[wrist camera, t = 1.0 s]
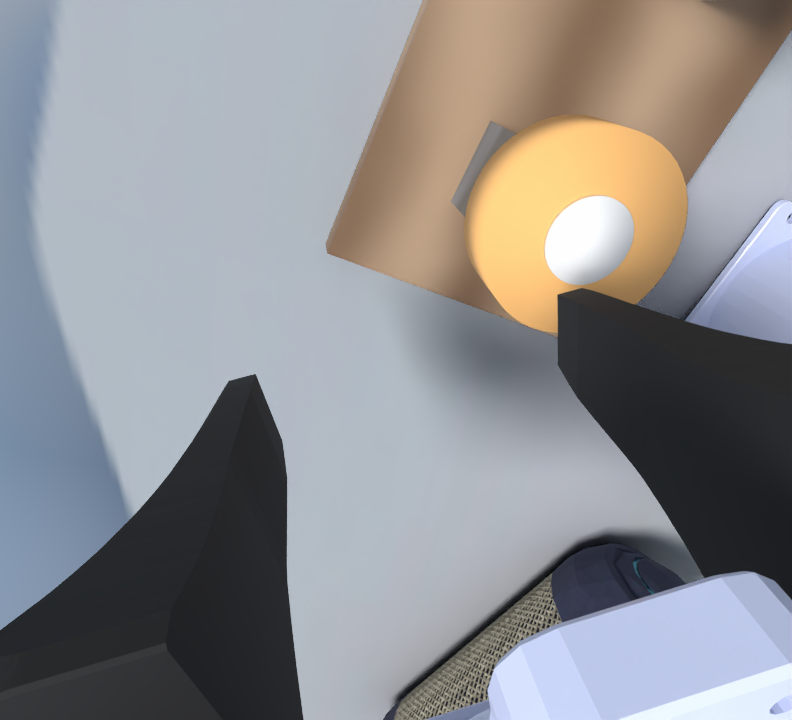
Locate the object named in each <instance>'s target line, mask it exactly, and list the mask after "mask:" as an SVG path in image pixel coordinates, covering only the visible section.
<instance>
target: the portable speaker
mask: <svg viewBox="0 0 792 720" xmlns="http://www.w3.org/2000/svg"><path fill="white" fill-rule="evenodd" d="M685 584H686V583H685V582H684V581H683V580H682V579H681V578H680V577H679V576H678V575H677V574H675V573H673V572H672V571H670V570H668V569H667V568H665V567H664V566H662V565H660V564H658V563H656V562H654V561H653V560H651V559H650V558H648V557H647V556H645V555H643V554H642V553H640V552H639V551H637V550H636V549H633V548H631V547H629V546H626V545H621V544H614V543H611V544H606V545H601V546H595V547H590V548H585V549H583V550H581V551H579V552H577V553H576V554H574V555H572V556H570V557H569V558H567V559H566V560H565V561H564V562H563V563H562V564H561V565H560V566H559V567H558V568H556V570H555V571H554V572H552V573H551V574H550V575H549V576H548V577H546V578H545V579H544V580H543V581H542V582H540V583H539V584H538V585H537V586H536V587H534V588H533V589H532V590H531V591H530V592H529V593H528V594H526V595H525V596H524V597H523V598H522V599H520V600H519V601H518V602H517V603H515V604H514V605H513V606H512V607H511V608H510V609H508V610H507V611H506V612H505V613H504V614H503V615H501V616H500V617H499V618H498V619H497V620H495V621H494V622H493V623H492V624H490V625H489V626H488V627H487V628H486V629H485V630H484V631H482V632H481V633H480V634H479V635H478V636H476V637H475V638H474V639H473V640H472V641H470V642H469V643H468V644H467V645H466V646H465V647H463V648H462V649H461V650H460V651H458V652H457V653H456V654H455V655H454V656H453V657H452V658H450V659H449V660H448V661H447V662H445V663H444V664H443V665H442V666H441V667H440V668H439V669H437V670H436V671H435V672H434V673H432V674H431V675H430V676H429V677H428V678H427V679H425V680H424V681H423V682H422V683H421V684H419V685H418V686H417V687H416V688H415V689H414V690H412V691H411V692H410V693H409V694H407V695H406V696H404V697H403V698H402V699H401V700H400V701H399V702H398V703H397V704H396V705H395V706H394V707H393V708H392V709H391V710H390V711H389V712H388V713H387V714H386V716H385V718H384V719H383V720H426V719H429V718H432V717H435V716H438V715H441V714H444V713H448V712H451V711H454V710H457V709H460V708H463V707H466V706H470V705H473V704H476V703H479V702H482V701H485V700H488V699H489V697H488V691H487V690H488V687H489V684H490V681H491V677H492V674H493V671H494V668H495V666H496V664H497V662H498V661H499V660H500V659H501V658H502V657H503V656H504V655H505V654H507V653H508V652H509V651H510V650H511V649H512V648H513V647H514V646H515V645H517V644H518V643H519V642H520V641H521V640H523V639H525V638H527V637H530V636H532V635H534V634H536V633H538V632H540V631H542V630H545V629H547V628H549V627H551V626H553V625H556V624H559V623H562V622H566V621H569V620H572V619H575V618H578V617H582V616H585V615H588V614H591V613H595V612H598V611H601V610H604V609H607V608H611V607H614V606H617V605H620V604H624V603H627V602H630V601H633V600H636V599H640V598H643V597H646V596H649V595H653V594H656V593H659V592H662V591H665V590H669V589H672V588H675V587H678V586H682V585H685Z"/></svg>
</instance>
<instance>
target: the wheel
mask: <svg viewBox="0 0 792 720" xmlns="http://www.w3.org/2000/svg"><path fill="white" fill-rule="evenodd" d="M687 209H688V198H687V190H686V184H685V181H684V177H683V174H682V172H681V169H680V167H679V165H678V163H677V161H676V160H675V159H674V157H673V156H672V154H671V153H670V152H669V151H668V150H667V149H666V148H665V147H664V146H663V145H662V144H661V143H660V142H658V141H657V140H655V139H654V138H652V137H651V136H649V135H646V134H644V133H642V132H640V131H637V130H634V129H631V128H628V127H625V126H621V125H618V124H615V123H612V122H609V121H606V120H603V119H600V118H596V117H592V116H588V115H578V114H573V115H561V116H556V117H551V118H548V119H545V120H542V121H539V122H537V123H535V124H533V125H531V126H529V127H527V128H525V129H523V130H522V131H520V132H519V133H517V134H516V135H514V136H513V137H511V138H510V139H509V140H508V141H507V142H506V143H504V144H503V145H502V146H501V147H500V148H499V149H498V150H497V151H496V152H495V154H494V155H493V156H492V157H491V158H490V159H489V161H488V162H487V164H486V165H485V166H484V168H483V169H482V171H481V173H480V174H479V176H478V178H477V180H476V182H475V184H474V186H473V189H472V191H471V193H470V197H469V200H468V204H467V208H466V214H465V223H464V234H465V244H466V248H467V252H468V255H469V258H470V261H471V263H472V265H473V267H474V269H475V270H476V272H477V274H478V275H479V276H480V278H481V279H482V280H483V282H484V283H485V284H486V286H487V287H488V289H489V290H490V291H491V293H492V294H493V295H494V297H495V298H496V299H497V301H498V302H499V303H500V305H501V306H502V307H503V308H504V310H505V311H506V312H508V313H509V314H510V315H511V316H512V317H513V318H515V319H516V320H518V321H519V322H521V323H522V324H525V325H527V326H529V327H531V328H534V329H538V330H541V331H547V332H554V333H558V300H557V294H561V293H565V292H569V291H572V290H576V289H580V288H584V289H588V290H592V291H596V292H599V293H602V294H605V295H608V296H611V297H614V298H617V299H620V300H623V301H626V302H628V303H631V304H634V305H636V304H637V303H638V302H639V301H640V300H641V299H642V298H644V297H645V296H646V295H647V294H648V293H649V292H650V291H651V289H652V288H653V287H654V286H655V285H656V284H657V283H658V281H659V280H660V279H661V277H662V276H663V275H664V273H665V272H666V270H667V269H668V267H669V266H670V264H671V262H672V260H673V258H674V256H675V254H676V252H677V250H678V248H679V245H680V243H681V240H682V237H683V233H684V229H685V226H686V219H687Z"/></svg>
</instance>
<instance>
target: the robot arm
mask: <svg viewBox="0 0 792 720" xmlns="http://www.w3.org/2000/svg"><path fill="white" fill-rule="evenodd" d="M791 213H792V202H791V201H788V200H780V201H778V202H776V203H775V204H774V205H773V206H772V207H771V208H770V210H769V211H768V212H767V213H766V215H765V216H764V217H763V219H762V220H761V221H760V223H759V224H758V225H757V227H756V228H755V229H754V231H753V232H752V233H751V234H750V236H749V237H748V238H747V240H746V241H745V242H744V244H743V245H742V246H741V248H740V249H739V250H738V251H737V253H736V254H735V255H734V257H733V258H732V259H731V261H730V262H729V263H728V265H727V266H726V267H725V269H724V270H723V271H722V272H721V274H720V275H719V276H718V278H717V279H716V280H715V282H714V283H713V284H712V286H711V287H710V288H709V290H708V291H707V292H706V293H705V295H704V296H703V297H702V299H701V300H700V301H699V303H698V304H697V305H696V307H695V308H694V309H693V310H692V312H691V313H690V314H689V316H688V317H687V318H686V320H685V321H683V320H680V319H677V318H673V317H670V316H667V315H664V314H661V313H658V312H655V311H652V310H649V309H646V308H643V307H640V306H637V305H634V304H631V303H628V302H626V301H623V300H620V299H617V298H614V297H611V296H608V295H605V294H602V293H599V292H596V291H592V290H588V289H584V288H580V289H576V290H572V291H569V292H565V293H561V294H557V300H558V366H559V368H560V369H561V371H562V373H563V375H564V376H565V378H566V380H567V381H568V383H569V385H570V386H571V388H572V390H573V391H574V393H575V394H576V396H577V397H578V399H579V400H580V401H581V403H582V404H583V405H584V406H585V408H586V409H587V410H588V411H589V412H590V414H591V415H592V416H593V417H594V419H595V420H596V421H597V422H598V423H599V425H600V426H601V427H602V428H603V429H604V431H605V432H606V433H607V434H608V435H609V437H610V438H611V439H612V440H613V441H614V443H615V444H616V445H617V446H618V448H619V449H620V450H621V451H622V452H623V454H624V455H625V456H626V457H627V458H628V460H629V461H630V462H631V463H632V464H633V466H634V467H635V468H636V470H637V471H638V472H639V474H640V475H641V476H642V478H643V479H644V481H645V482H646V484H647V485H648V487H649V488H650V490H651V491H652V493H653V494H654V496H655V497H656V499H657V500H658V502H659V504H660V505H661V507H662V508H663V510H664V511H665V513H666V514H667V516H668V518H669V519H670V521H671V522H672V524H673V526H674V527H675V529H676V531H677V532H678V534H679V535H680V537H681V539H682V540H683V542H684V544H685V545H686V547H687V548H688V550H689V552H690V554H691V555H692V557H693V559H694V561H695V562H696V564H697V566H698V568H699V569H700V571H701V573H702V574H703V576H704V579H701V580H698V581H694V582H691V583H688V584H685V585H682V586H678V587H675V588H672V589H669V590H665V591H662V592H659V593H656V594H653V595H649V596H646V597H643V598H640V599H636V600H633V601H630V602H627V603H624V604H620V605H617V606H614V607H611V608H607V609H604V610H601V611H598V612H595V613H591V614H588V615H585V616H582V617H578V618H575V619H572V620H569V621H566V622H562V623H559V624H556V625H553V626H551V627H549V628H547V629H545V630H542V631H540V632H538V633H536V634H534V635H532V636H530V637H527V638H525V639H523V640H521V641H520V642H519V643H518V644H517V645H515V646H514V647H513V648H512V649H511V650H510V651H509V652H508V653H507V654H505V655H504V656H503V657H502V658H501V659H500V660H499V661H498V662H497V664H496V666H495V668H494V671H493V674H492V677H491V681H490V684H489V687H488V690H487V691H488V697H489V699H488V700H485V701H482V702H479V703H476V704H473V705H470V706H466V707H463V708H460V709H457V710H454V711H451V712H448V713H444V714H441V715H438V716H435V717H432V718H429V719H426V720H792V214H791ZM790 214H791V216H790V218H789V219H787V218H788V216H789V215H790ZM0 720H303V714H302V706H301V698H300V691H299V683H298V676H297V668H296V659H295V651H294V642H293V633H292V625H291V615H290V605H289V595H288V585H287V474H286V466H285V458H284V451H283V444H282V439H281V437H280V434H279V432H278V429H277V427H276V424H275V422H274V419H273V417H272V414H271V412H270V409H269V407H268V404H267V402H266V399H265V397H264V394H263V392H262V389H261V387H260V384H259V382H258V379H257V377H256V374H254V375H250V376H246V377H243V378H239V379H235V380H231V381H229V382H228V383H227V385H226V387H225V388H224V390H223V391H222V393H221V395H220V396H219V398H218V400H217V402H216V403H215V405H214V407H213V408H212V410H211V412H210V413H209V415H208V417H207V418H206V420H205V422H204V423H203V425H202V427H201V428H200V430H199V431H198V433H197V435H196V436H195V438H194V439H193V441H192V443H191V444H190V445H189V447H188V448H187V450H186V451H185V453H184V454H183V455H182V457H181V458H180V460H179V461H178V463H177V464H176V465H175V467H174V468H173V470H172V471H171V472H170V474H169V475H168V476H167V478H166V479H165V480H164V481H163V483H162V484H161V485H160V486H159V488H158V489H157V490H156V491H155V492H154V494H153V495H152V496H151V497H150V498H149V499H148V500H147V502H146V503H145V504H144V505H143V506H142V507H141V509H140V510H139V511H138V512H137V513H136V514H135V515H134V516H133V517H132V518H131V519H130V520H129V521H128V522H127V523H126V524H125V525H124V526H123V527H122V528H121V529H120V530H119V531H118V532H117V533H116V534H115V535H114V536H113V537H112V538H111V539H110V540H109V541H108V542H107V543H106V544H105V545H104V546H103V547H102V548H101V549H100V550H99V551H98V552H97V553H96V554H95V555H93V556H92V557H91V558H90V559H89V560H88V561H87V562H86V563H84V564H83V565H82V566H81V567H80V568H79V569H78V570H77V571H75V572H74V573H73V574H72V575H71V576H69V577H68V578H67V579H66V580H65V581H63V582H62V583H61V584H60V585H59V586H58V587H56V588H55V589H54V590H53V591H51V592H50V593H49V594H48V595H46V596H45V597H44V598H43V599H41V600H40V601H39V602H37V603H36V604H35V605H33V606H32V607H31V608H29V609H28V610H27V611H25V612H24V613H23V614H21V615H20V616H19V617H17V618H16V619H15V620H13V621H12V622H11V623H9V624H8V625H7V626H5V627H4V628H3V629H1V630H0Z"/></svg>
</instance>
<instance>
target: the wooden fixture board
mask: <svg viewBox="0 0 792 720" xmlns="http://www.w3.org/2000/svg"><path fill="white" fill-rule="evenodd" d="M791 30H792V0H704V1H698V0H423V2H422V5H421V7H420V10H419V12H418V15H417V17H416V20H415V22H414V25H413V27H412V30H411V32H410V35H409V37H408V40H407V42H406V45H405V47H404V50H403V52H402V55H401V57H400V60H399V62H398V65H397V67H396V70H395V72H394V75H393V77H392V80H391V82H390V85H389V87H388V90H387V92H386V95H385V97H384V100H383V102H382V105H381V107H380V110H379V112H378V115H377V117H376V120H375V122H374V125H373V127H372V130H371V132H370V135H369V137H368V140H367V142H366V145H365V147H364V150H363V152H362V155H361V157H360V160H359V162H358V165H357V167H356V170H355V172H354V175H353V177H352V180H351V182H350V185H349V187H348V190H347V192H346V195H345V197H344V200H343V202H342V205H341V207H340V210H339V212H338V215H337V217H336V220H335V222H334V225H333V227H332V230H331V232H330V235H329V237H328V240H327V242H326V248H327V253H328V254H331V255H334V256H336V257H339V258H342V259H345V260H347V261H350V262H353V263H356V264H358V265H361V266H364V267H366V268H369V269H372V270H375V271H377V272H380V273H383V274H386V275H388V276H391V277H394V278H397V279H399V280H402V281H405V282H407V283H410V284H413V285H416V286H418V287H421V288H424V289H427V290H429V291H432V292H435V293H438V294H440V295H443V296H446V297H448V298H451V299H454V300H457V301H459V302H462V303H465V304H468V305H470V306H473V307H476V308H479V309H481V310H484V311H487V312H489V313H492V314H495V315H498V316H500V317H503V318H506V319H509V320H511V321H514V322H517V323H520V324H522V323H521V322H519V321H518V320H516V319H515V318H513V317H512V316H511V315H510V314H509V313H508V312H506V311H505V310H504V308H503V307H502V306H501V305H500V303H499V302H498V301H497V299H496V298H495V297H494V295H493V294H492V293H491V291H490V290H489V289H488V287H487V286H486V284H485V283H484V282H483V280H482V279H481V278H480V276H479V275H478V274H477V272H476V270H475V269H474V267H473V265H472V263H471V261H470V258H469V255H468V252H467V248H466V244H465V234H464V223H465V214H466V208H467V204H468V200H469V197H470V193H471V191H472V189H473V186H474V184H475V182H476V180H477V178H478V176H479V174H480V173H481V171H482V169H483V168H484V166H485V165H486V164H487V162H488V161H489V159H490V158H491V157H492V156H493V155H494V154H495V152H496V151H497V150H498V149H499V148H500V147H501V146H502V145H503V144H504V143H506V142H507V141H508V140H509V139H510V138H511V137H513V136H514V135H516V134H517V133H519V132H520V131H522V130H523V129H525V128H527V127H529V126H531V125H533V124H535V123H537V122H539V121H542V120H545V119H548V118H551V117H556V116H561V115H573V114H578V115H588V116H592V117H596V118H600V119H603V120H606V121H609V122H612V123H615V124H618V125H621V126H625V127H628V128H631V129H634V130H637V131H640V132H642V133H644V134H646V135H649V136H651V137H652V138H654V139H655V140H657V141H658V142H660V143H661V144H662V145H663V146H664V147H665V148H666V149H667V150H668V151H669V152H670V153H671V154H672V156H673V157H674V159H675V160H676V161H677V163H678V165H679V167H680V169H681V172H682V174H683V177H684V181H685V184H686V185H687V183H688V182H689V180H690V179H691V177H692V176H693V174H694V173H695V171H696V170H697V169H698V167H699V166H700V164H701V163H702V161H703V160H704V158H705V157H706V155H707V154H708V152H709V151H710V149H711V148H712V146H713V145H714V143H715V142H716V141H717V139H718V138H719V136H720V135H721V133H722V132H723V130H724V129H725V127H726V126H727V124H728V123H729V121H730V120H731V118H732V117H733V115H734V114H735V113H736V111H737V110H738V108H739V107H740V105H741V104H742V102H743V101H744V99H745V98H746V96H747V95H748V93H749V92H750V90H751V89H752V87H753V86H754V84H755V83H756V82H757V80H758V79H759V77H760V76H761V74H762V73H763V71H764V70H765V68H766V67H767V65H768V64H769V62H770V61H771V59H772V58H773V56H774V55H775V54H776V52H777V51H778V49H779V48H780V46H781V45H782V43H783V42H784V40H785V39H786V37H787V36H788V34H789V33H790V31H791ZM522 325H525V324H522ZM525 326H527V325H525ZM528 327H529V326H528ZM530 328H531V327H530ZM533 329H534V328H533ZM536 330H538V329H536ZM539 331H541V330H539ZM541 332H544V333H547V334H550V335H552V336H555V337H558V333H554V332H547V331H541Z"/></svg>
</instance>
